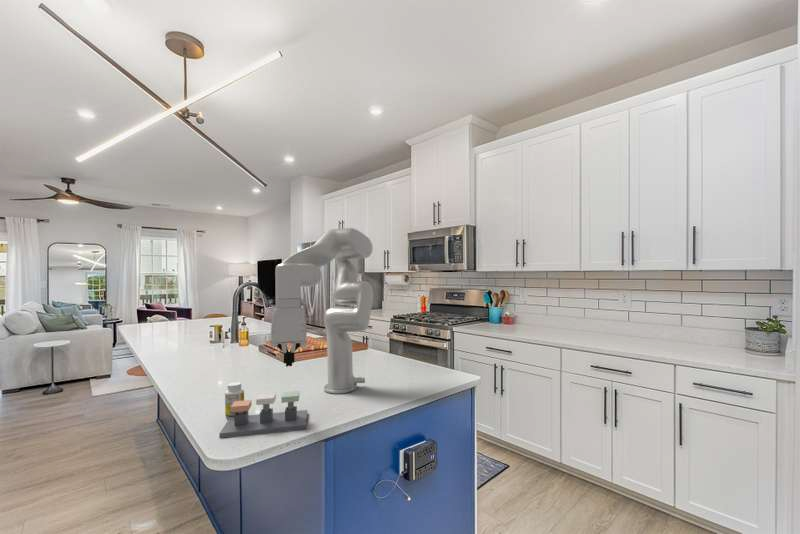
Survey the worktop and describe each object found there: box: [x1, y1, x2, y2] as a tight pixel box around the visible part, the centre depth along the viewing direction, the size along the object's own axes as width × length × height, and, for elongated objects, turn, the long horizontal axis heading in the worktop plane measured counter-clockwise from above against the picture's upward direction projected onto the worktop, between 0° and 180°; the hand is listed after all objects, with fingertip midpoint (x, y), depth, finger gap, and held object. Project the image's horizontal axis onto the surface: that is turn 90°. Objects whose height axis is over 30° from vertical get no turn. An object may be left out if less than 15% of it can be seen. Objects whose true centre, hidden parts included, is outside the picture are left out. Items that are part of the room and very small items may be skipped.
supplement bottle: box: [224, 381, 245, 420], centre depth 118 cm, size 6×6×10 cm
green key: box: [281, 390, 300, 410], centre depth 112 cm, size 5×5×5 cm
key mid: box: [255, 392, 277, 412], centre depth 110 cm, size 5×5×5 cm
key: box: [231, 399, 253, 415], centre depth 109 cm, size 5×5×5 cm
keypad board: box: [218, 405, 308, 439], centre depth 110 cm, size 23×12×4 cm, turn 102°
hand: (289, 365), depth 112 cm, fingers closed
